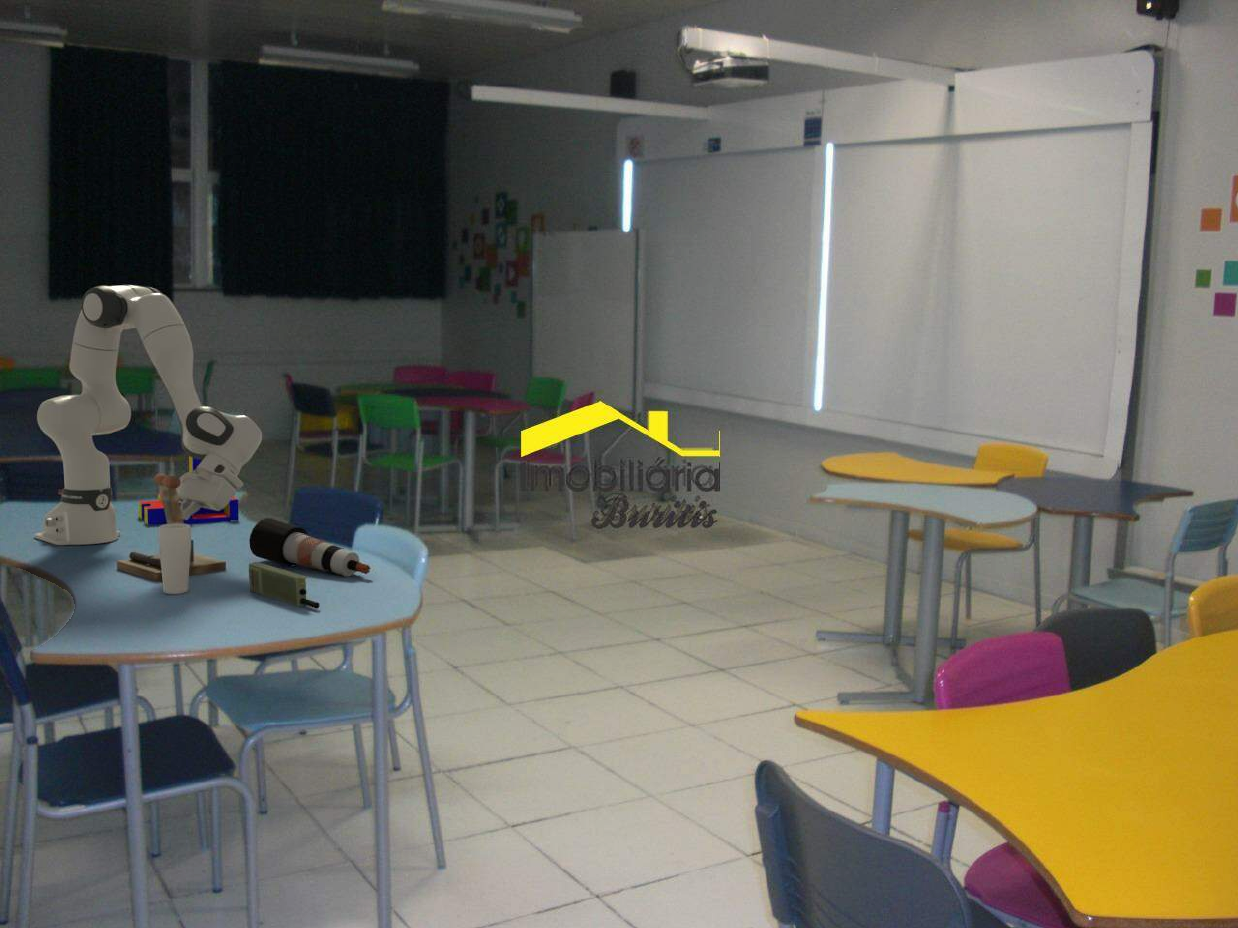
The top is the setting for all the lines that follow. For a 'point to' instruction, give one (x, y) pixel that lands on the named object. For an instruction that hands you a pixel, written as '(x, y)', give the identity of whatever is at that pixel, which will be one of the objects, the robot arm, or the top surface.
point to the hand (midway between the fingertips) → (181, 517)
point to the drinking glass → (175, 557)
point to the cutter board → (157, 572)
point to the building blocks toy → (156, 514)
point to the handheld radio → (279, 584)
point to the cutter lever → (170, 497)
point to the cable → (301, 549)
